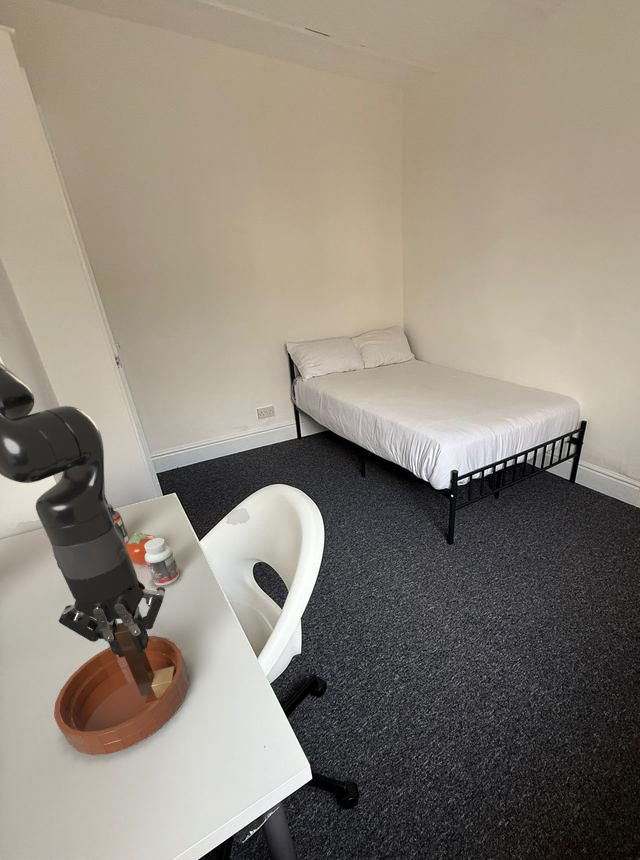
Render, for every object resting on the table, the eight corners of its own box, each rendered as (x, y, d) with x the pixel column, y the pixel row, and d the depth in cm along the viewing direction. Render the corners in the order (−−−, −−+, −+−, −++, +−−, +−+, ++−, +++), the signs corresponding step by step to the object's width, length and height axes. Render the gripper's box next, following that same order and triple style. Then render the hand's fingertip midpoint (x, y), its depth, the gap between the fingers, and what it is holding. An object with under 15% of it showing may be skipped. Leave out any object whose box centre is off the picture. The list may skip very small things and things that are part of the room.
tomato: (131, 554, 102) (121, 527, 98) (164, 548, 104) (155, 521, 100) (124, 573, 96) (113, 545, 92) (159, 566, 98) (149, 538, 94)
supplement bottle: (136, 542, 107) (122, 504, 102) (114, 555, 102) (98, 516, 97) (120, 537, 109) (106, 499, 104) (98, 549, 104) (82, 511, 99)
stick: (141, 696, 66) (114, 633, 59) (143, 685, 68) (117, 623, 61) (155, 692, 66) (129, 630, 60) (157, 682, 68) (132, 620, 62)
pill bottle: (148, 586, 92) (134, 550, 87) (162, 570, 96) (149, 535, 92) (171, 586, 91) (159, 550, 87) (184, 570, 96) (173, 535, 91)
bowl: (48, 774, 57) (33, 753, 55) (87, 671, 72) (76, 651, 70) (183, 734, 62) (174, 713, 59) (194, 645, 77) (187, 625, 74)
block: (156, 698, 66) (151, 686, 65) (159, 682, 69) (154, 670, 68) (176, 693, 67) (171, 680, 66) (178, 677, 70) (174, 665, 68)
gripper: (156, 533, 60) (185, 621, 68) (46, 552, 57) (89, 643, 64) (146, 565, 54) (179, 658, 62) (21, 588, 50) (72, 684, 58)
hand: (133, 650), depth 63 cm, fingers closed on stick, 2 cm apart
